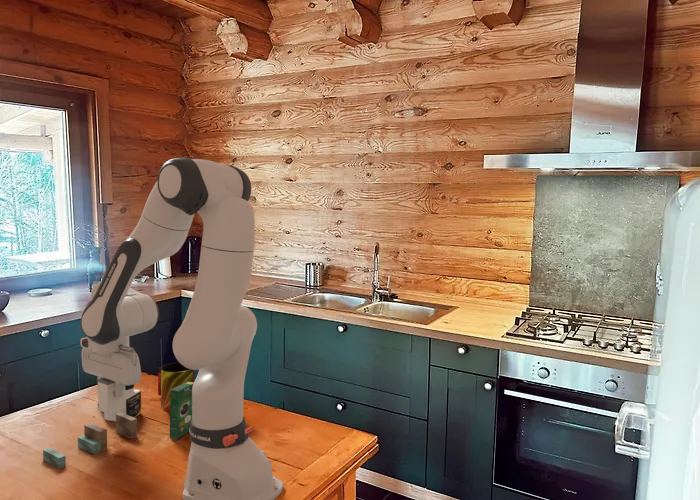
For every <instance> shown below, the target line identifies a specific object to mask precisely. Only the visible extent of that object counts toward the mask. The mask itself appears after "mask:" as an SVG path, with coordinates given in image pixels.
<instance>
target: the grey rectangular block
mask: <svg viewBox="0 0 700 500" xmlns="http://www.w3.org/2000/svg"><path fill="white" fill-rule="evenodd" d="M97 382H98V385H97V394H98V395H97V399H98V400H97V404H98V403H99V408H98V411H100V412H103V413H104V414H105V413H107V414H109V413H112V412H114V411H117V410H120V409H123V408H126V394H125V387H124V390H123V397H121V398H116V397H114V396H113V395H114V394H113V391H114V390H116V387H117V386H116V385H115V381H111V380H108V379H105V378H102V379H98V380H97Z"/></svg>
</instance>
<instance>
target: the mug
mask: <svg viewBox="0 0 700 500" xmlns="http://www.w3.org/2000/svg"><path fill="white" fill-rule="evenodd" d="M194 381H195V370H192V369H188V368H186V367H184V366H183V365H182V364H181V363H180V362H171V363H167V364H165V365H162V366H159V367H158V368H157V395H158V396H160V403H161V404H160V405H161V406H160V407H161V410H163V411H165V412H168V413H170V390H171V389H173V388H175V387H177V386H180V385H182V384H184V383H186V382H194Z"/></svg>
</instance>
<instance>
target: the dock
mask: <svg viewBox="0 0 700 500" xmlns="http://www.w3.org/2000/svg"><path fill="white" fill-rule="evenodd" d="M83 428H84V431H83V432H84V434H83V435H80V436H78V437H77V447H78V448H80V449H82V450H84V451H86V452H88V453H90V454H92V455H96V454H99V453H101V452H104V451H106V450H108V430H107V429H106V428H103V427H101V426H100V425H97V424H94V423H92V422H90V423H86V424H84V425H83ZM115 433H117V434H119V435H122V436H124V437H125V438H129V439H131V440H133V439H136V438H138V419H137V417H131V416H129V415H126V414H124V413H121V412H120V413H118V414H116V421H115ZM66 457H67V456H66V455H65V454H63V453H61V452H60V451H57V450H56V449H53V448H51V447H47V448H45V449H43V450H42V460H43V461H45V462H46V463H48V464H50V465H52V466H54V467H56V469H57V468H58V469H62V468H64V467H66V465H67V464H66V463H67V462H66V460H67V459H66Z"/></svg>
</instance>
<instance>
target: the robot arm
mask: <svg viewBox="0 0 700 500" xmlns="http://www.w3.org/2000/svg"><path fill="white" fill-rule="evenodd" d="M157 175H158V176H157V181H156V182H155V184H154V185H153V187H152V189H151V191H150V193H149V195H148V197H147V200H146V202H145V204H144V207H143V210H142V213H141V215H140V218H139V220H138V222H137V224H136V226H135V227H134V229H133V230H132V232H131V233H130V235H129V236H128V237H127V238H126V239H124V241H122V243H121V244H120V245H119V247H118V248H117V250H116V252H115V253H114V255H113V256H112V258H111V261H110V262H109V265H108V267H107V269H106V271H105V272H104V273H105V274H104V275H103V277H102V279H101V280H100V281H97V282H95V283H94V284H93V285H92V288H91V291H90V301H89V302H88V303H87V305H86V306H85V308H84V310H83V311H82V315H81V317H80V328H81V331H82V332H83V334H84V335H85V336H86V337H81V338H80V342H79V343H80V347H82V349H81V367H82V370H83V371H84V372H85V373H86V374H90V375H93V376H96V377H97V379H96V380H97V381H98V379H102V378H105V379H108V380H111V381H115V385H116V386H117V387H116V390H114V391H113V394H114V395H113V396H114V397H116V398H121V397H123V390H124V387H125V385H127V386H130V385H133V384H134V385H136V384H138V383H140V382H141V380H142V368H141V363H140V358H139V355H138V353H137V352H136V350H135V349H134V348H133V347H131V346H130V336H131V337H132V336H135V335H138V334H142V333H144V332H145V333H146V332H148V331H150V330H152V329H154V327H155V326H156V325H157V323H158V321H159V317H160V316H159V315H160V311H159V306H158V304H157V302H156V300H155V299H154V298H153V297H152V296H151V295H149V294H146V293H141V292H139V291H138V290H135V289H133V287H131V285H132V283H133V281H134V280H135V279H136V277H137V276H138V274H139V273H141V272H142V271H143V270H145V269H146V268H148V267H150V266H151V265H153V264H156V263H158V262H160V261H162V260H165V259H168V258H170V257H172V256H174V255H175V254H176V253H178V252H179V251H180V249H181V248H182V247H183V245H184V243H185V242H186V239H187V238H188V234H189V232H190V229H191V226H192V224H193V220H194V216H195V215H196V214H198V215H199V216H200V218H201V220H202V223H203V230H202V231H203V232H202V238H201V246H200V254H199V255H200V256H199V264H198V272H197V273H198V274H197V278H196V282H195V287H194V291H193V293H192V297H191V300H190V303H189V306H188V308H187V311H186V314H185V317H184V319H183V321H182V323H181V325H180V326H179V328H178V329H177V331H176V332H175V334H174V336H173V340H172V352H173V354H174V357H175V359H176V360H177V362H178V363H181V364H182V365H183V366H184V367H186V368H188V369H192V370H194V371H197V370H198V373H197V376H196V378H194V384H193V387H192V420H191V422H190V428H189V432H188V433H189V439H190V441H191V443H190V448H189V449H190V450H189V453H188V456H187V457H188V458H187V465H186V466H187V468H186V473H185V475H186V476H185V479H184V482H183V487H184V489H183V490H182V495H181V499H182V500H276V499H277V498H278V497H279V495H280V494H281V493H282V491H283V490H284V482H283V481H281V479H278V478H277V477H275V476H274V474H273V468H272V462H271V460H269V458H268V457H267V455H266V453H265V451H264V450H261V449H260V448H259V446H257V444H256V443H255V442H254V441H253V440H252V438H251V437H250V433H251V432H252V431H253V429H252V428H253V426H252V425H250V426H249V427H248V425H247V421H246V418H245V417H244V391H245V390H244V388H245V379H246V374H247V368H248V364H249V360H250V359H249V358H250V353H251V348H252V343H253V341H254V337H255V336H256V333H257V329H258V322H257V318H256V314H254V312H253V311H252V310H251V309H250V308H248V307H247V306H245V305H242V303H243V300H244V298H245V296H246V294H247V291H248V290H249V288H250V284H251V279H252V278H251V277H252V267H253V258H254V251H255V243H256V240H255V239H256V238H255V237H256V224H255V223H256V221H255V211H254V208H253V206H252V204H251V203H250V202H249V200H250V198H251V194H252V183H251V180H250V177H249V175H248V174H247V173H246V172H245V171H243V170H242V169H240V168H238V167H236V166H234V165H230V164H228V165H227V164H224V163H220V162H215V161H213V160H209V159H202V158H200V159H199V158H190V157H176V158H171V159H168V160H167V161H165V162H164V163H163V165H162V166H161V168H159V172H158V174H157Z"/></svg>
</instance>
